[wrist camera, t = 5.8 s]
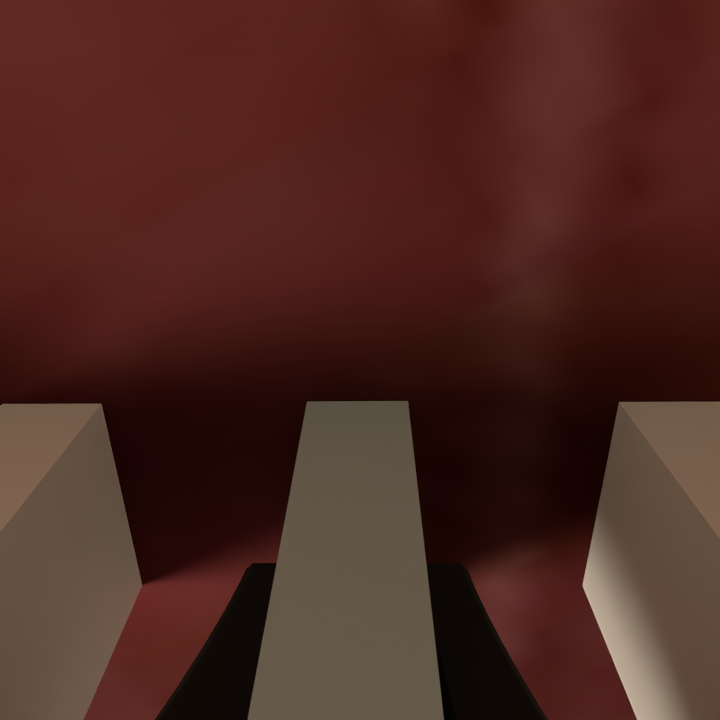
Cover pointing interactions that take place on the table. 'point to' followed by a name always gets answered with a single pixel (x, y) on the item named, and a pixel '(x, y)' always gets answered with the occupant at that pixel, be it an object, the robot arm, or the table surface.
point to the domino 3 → (661, 558)
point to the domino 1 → (59, 559)
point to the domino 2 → (350, 577)
